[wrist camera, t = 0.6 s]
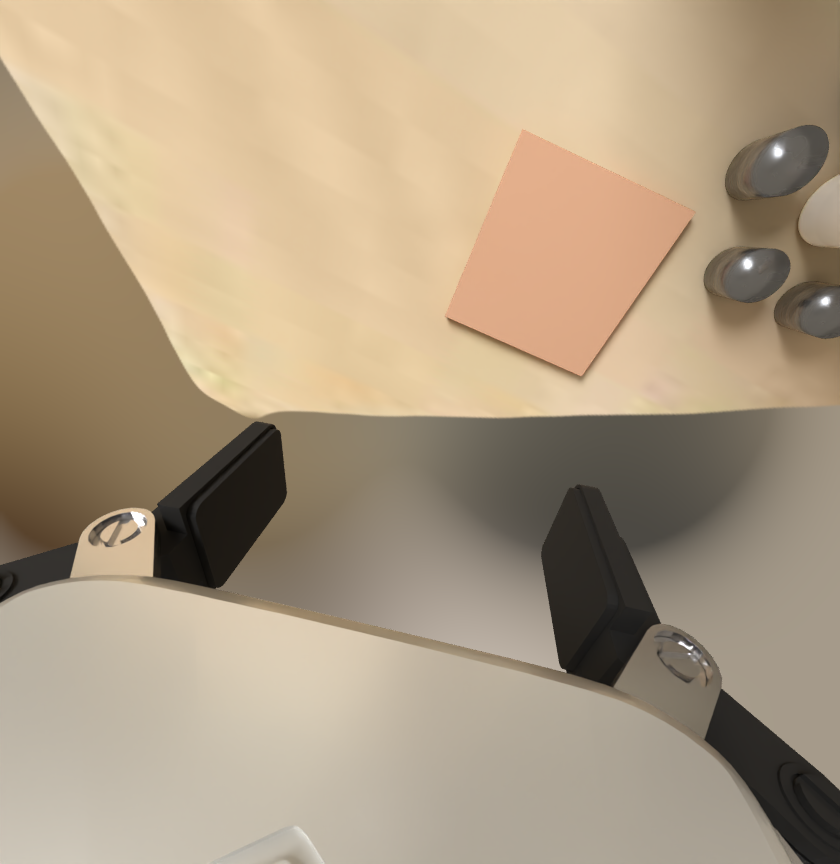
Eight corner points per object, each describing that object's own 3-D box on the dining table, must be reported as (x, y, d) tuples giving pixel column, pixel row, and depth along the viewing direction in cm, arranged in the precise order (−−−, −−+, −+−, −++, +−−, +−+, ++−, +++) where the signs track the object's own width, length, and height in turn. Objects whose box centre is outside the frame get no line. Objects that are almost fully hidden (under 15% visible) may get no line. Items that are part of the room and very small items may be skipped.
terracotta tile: (521, 132, 29) (522, 129, 28) (689, 212, 30) (695, 211, 29) (445, 314, 37) (445, 316, 36) (579, 373, 38) (581, 376, 37)
